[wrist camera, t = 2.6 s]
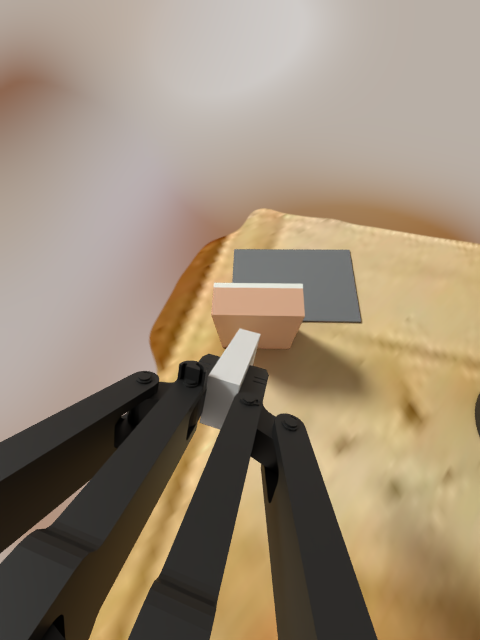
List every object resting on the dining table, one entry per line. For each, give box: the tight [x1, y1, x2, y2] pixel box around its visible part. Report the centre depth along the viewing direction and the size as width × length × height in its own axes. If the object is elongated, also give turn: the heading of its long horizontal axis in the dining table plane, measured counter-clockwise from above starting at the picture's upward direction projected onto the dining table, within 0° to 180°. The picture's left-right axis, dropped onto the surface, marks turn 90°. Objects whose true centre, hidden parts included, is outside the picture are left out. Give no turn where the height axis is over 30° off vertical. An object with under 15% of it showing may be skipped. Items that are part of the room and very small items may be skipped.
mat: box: [233, 249, 361, 322], centre depth 42 cm, size 14×20×1 cm
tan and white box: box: [211, 283, 305, 349], centre depth 34 cm, size 4×10×12 cm, turn 88°
